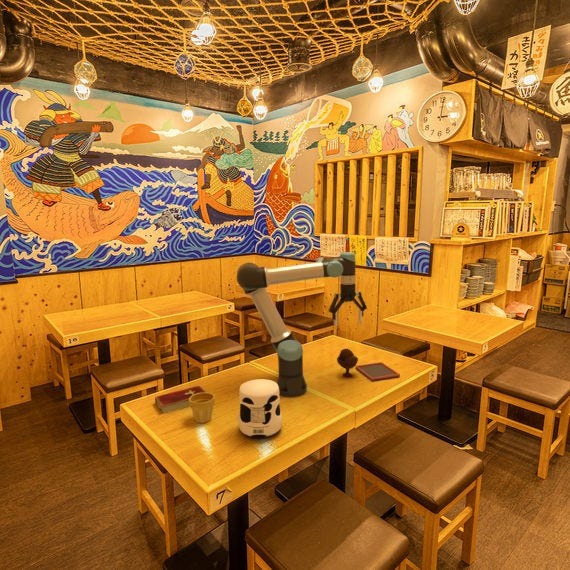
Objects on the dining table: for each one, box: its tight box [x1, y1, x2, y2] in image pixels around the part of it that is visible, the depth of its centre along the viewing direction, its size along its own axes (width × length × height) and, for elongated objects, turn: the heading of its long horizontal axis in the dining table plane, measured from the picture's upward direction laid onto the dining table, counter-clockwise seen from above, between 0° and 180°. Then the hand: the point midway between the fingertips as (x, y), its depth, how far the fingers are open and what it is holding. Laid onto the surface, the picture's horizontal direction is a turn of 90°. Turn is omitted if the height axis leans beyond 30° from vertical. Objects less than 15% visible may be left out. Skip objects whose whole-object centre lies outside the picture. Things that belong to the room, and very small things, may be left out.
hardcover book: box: [154, 385, 206, 414], centre depth 181 cm, size 12×21×4 cm, turn 122°
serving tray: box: [354, 361, 401, 383], centre depth 209 cm, size 16×18×2 cm
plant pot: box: [189, 391, 216, 424], centre depth 165 cm, size 10×10×10 cm
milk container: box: [237, 378, 283, 439], centre depth 155 cm, size 17×17×18 cm
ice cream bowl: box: [336, 348, 359, 379], centre depth 205 cm, size 11×11×15 cm
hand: (348, 324), depth 202 cm, fingers open, 13 cm apart
